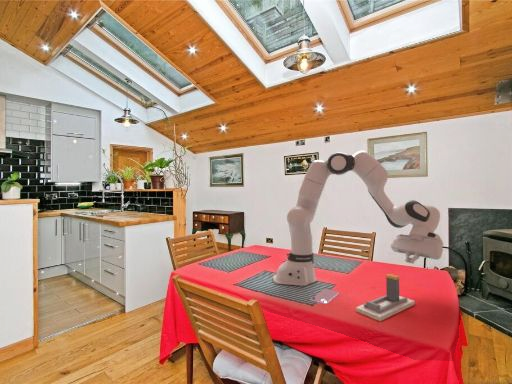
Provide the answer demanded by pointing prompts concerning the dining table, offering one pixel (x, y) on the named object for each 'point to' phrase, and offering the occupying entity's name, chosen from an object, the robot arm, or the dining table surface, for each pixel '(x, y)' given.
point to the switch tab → (392, 287)
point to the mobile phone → (325, 296)
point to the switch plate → (384, 307)
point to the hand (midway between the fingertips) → (409, 262)
